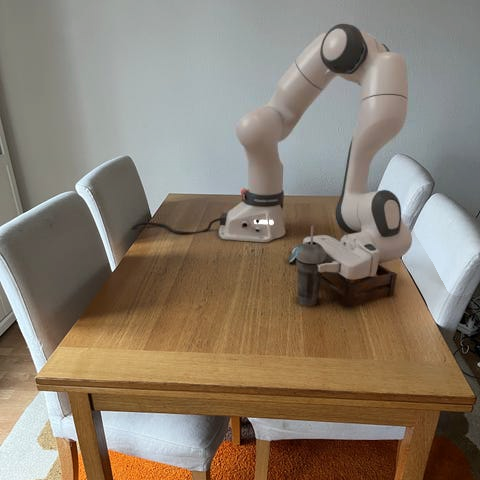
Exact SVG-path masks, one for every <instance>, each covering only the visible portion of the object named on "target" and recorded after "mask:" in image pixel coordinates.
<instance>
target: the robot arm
mask: <svg viewBox="0 0 480 480" xmlns="http://www.w3.org/2000/svg"><path fill="white" fill-rule="evenodd" d="M338 76H339V77H340V78H341V79H344V80H345V81H348V82H352V83H354V84H357V85H359V86H360V88H361V93H360V94H361V95H360V107H359V114H358V118H357V119H358V120H357V123H356V128H355V130H354V133H353V136H352V138H351V141H350V144H349V148H348V152H347V153H348V154H347V158H346V163H345V171H344V176H343V182H342V188H341V189H342V190H341V193H340V196H339V199H338V202H337V205H336V207H335V212H334V213H335V220H336V224H337V225H338V227H339V228H340V229H341V230H342V232H344V233H346V234H344V235H343V236H342V237H341V238H340V240H338V239H336V238H334V237H332V236H331V235H327V234H321V235H313V242H317V243H319V244H320V245H321V246H322V247H323V248H324V250H325V253H326V262H325V263H323V262H321V263H317V265H316V270H317V271H319V272H325V271H326V272H337V273H339V274H340V275H342V276H343V277H345V278H346V280H351V281H355V280H360V278H365V277H367V276H369V277H371V276H377V275H376V271H377V267H378V264H379V265H381V264H385V263H388V262H392V261H394V260H397V259H400V258H401V257H403V256H405V255H406V254H407V253H408V252H409V250H410V249H411V247H412V243H413V236H412V232H411V230H410V229H409V227H407V226H406V224H405V223H404V220H403V218H402V207H401V203H400V200H399V198H398V196H397V195H396V194H395V193H394V192H392V191H391V190H388V189H382V190H375V191H371V192H366V191H367V185H368V178H369V173H370V168H371V164H372V161H373V160H374V158H375V156H376V155H377V153H379V152H380V150H381V149H383V147H385V146H386V144H388V143H389V142H391V141H392V140H393V139H394V138H396V137H397V136H398V135H399V133H400V132H401V131H402V129H403V128H404V125H405V122H406V118H407V113H408V99H409V98H408V97H409V78H408V68H407V62H406V60H405V58H404V57H403V56H402V55H401V54H400V53H398V52H396V51H395V52H394V51H391V50H390V49H389V48H388V46H387V45H386V44H384V43H381V41H380V40H379V39H378V38H376V37H375V36H374V35H372V34H371V33H367V32H365V31H363V30H361V29H359V28H358V27H357V26H356V25H355V26H354V24H353V25H352V24H349V23H338V24H336V25H334V26H333V27H331V28H330V29H329V30H328V31H327V32H323V33H320V34H319V35H318V36H317V37H316V38H315V39H313V40H312V42H310V43H309V44H308V45H307V46H306V47H304V49H303V50H302V51H301V53H300V54H299V55H298V56H297V58H296V59H295V60H294V61H293V62H292V64H291V65H290V66H289V68H287V70H286V71H285V73H283V75H282V76H281V78H280V79H279V80H278V82H277V84H276V88H275V91H274V92H273V94H272V95H271V97H270V99H269V100H268V102H267V103H266V104H265V105H263V106H261V107H259V108H255V109H252V110H250V111H249V110H248V111H247V113H245V114H244V115H243V116H242V117H240V119H239V120H238V122H237V125H236V129H235V130H236V131H235V132H236V138H237V140H238V142H239V143H240V145H241V146H242V147H243V149H244V154H245V157H246V162H247V173H248V175H247V176H248V177H247V178H248V179H247V180H248V181H247V182H248V183H247V184H248V185H247V186H248V187H247V188H248V189H247V188H245V187H243V188H242V189H240V195H241V201H240V203H238V204H237V205H235V206H234V207H233V208H231V209H230V210H229V211H228V212H222V213H221V215H220V216H219V217H218V218H215V219H213V220H211V221H210V222H209V224H208V226H207V227H206V228H205V229H202V230H199V231H182V230H175V229H173V228H171V227H170V226H169V225H167V224H165V223H160V222H152V221H151V222H150V221H142V222H138V223H136V224H134V225H133V226H132V227H131V228H130V230H134V229H136V228H137V227H139V226H144V225H145V226H146V225H148V226H149V225H151V226H161V227H164V228H166V229H167V230H168V231H170V232H172V233H174V234H180V235H194V234H195V235H196V234H199V233H205V232H207V231H209V230H210V229H211V227H212V225H213V224H214V223H216V222H219V225H220V226H219V228H218V236H219V237H220V239H223V240H226V241H227V240H228V241H239V242H240V241H241V242H252V243H253V242H254V243H270V242H271V241H273V240H276V239H280V238H282V237H284V236H285V235H286V233H287V231H286V226H285V222H284V213H283V212H284V211H283V210H284V209H283V208H284V205H285V192H284V187H283V186H284V164H283V162H282V161H281V159H280V154H279V148H278V144H279V143H280V142H282V141H284V140H285V139H287V138H288V137H289V136H290V134H291V133H292V132H293V130H294V129H295V127H296V126H297V124H298V123H299V122H300V120H301V118H302V117H303V115H305V113H306V111H307V110H308V109H309V108H310V107H311V105H313V103H314V102H315V101H316V99H317V98H318V97H319V96H320V95H321V94H322V93H323V92H324V90H326V88H327V87H328V86H329V85H330V83H331V82H332V81H333V80H334V79H335V78H336V77H338ZM306 242H311V236H306V237H305V238H303V239H302V245H303V244H304V243H306ZM297 252H298V251H297ZM297 252H296V256H297Z"/></svg>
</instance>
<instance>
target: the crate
mask: <svg viewBox="0 0 480 480" xmlns="http://www.w3.org/2000/svg"><path fill="white" fill-rule="evenodd" d="M397 277H398V273H396V272H394V271H392V270H389V269H388V268H387V267H384V266H382V265H381V264H378V267H377V271H376V275H375V276H371V277H369V276H367V277H365V278H360V279H361V280H360V279H359V280H357V281H349V280H348V279H346V278H345V277H343V276H342V275H340V274H339V273H337V272H326V271H325V272H322V278H321V283H320V289H321V290H322V291H324V292H325V293H327V294H328V295H330V296H331V297H333V299H336V301H338V302H339V303H341V304H342V305H343V307H345V308H347V309H349V308H352V307H354V306H357V305H362V304H364V303H369V302H372V301H375V300H379V299H383V298H387V297H392V296H394V295H395V294H394V293H395V289H396V284H397ZM370 289H371V290H370ZM366 290H367V291H366ZM362 291H363V292H362Z"/></svg>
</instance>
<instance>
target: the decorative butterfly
mask: <svg viewBox="0 0 480 480" xmlns="http://www.w3.org/2000/svg"><path fill="white" fill-rule="evenodd" d="M302 245H303V244H299V245H297V246H296V247H295V248H293V249H292V251H291V256H290V258H289V260H288V263H289V264H290V263H292V262H293V261H294V260H295V259H296V252H297V251H298V249H299V248H300V247H301V246H302Z"/></svg>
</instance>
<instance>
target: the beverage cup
mask: <svg viewBox="0 0 480 480" xmlns="http://www.w3.org/2000/svg"><path fill="white" fill-rule="evenodd" d="M313 236H314V225H311V226H310V237H311V242H306V243H304V244H303V243H302V244H301V245H302V246H301V247H300V248H299V249H298V252H297V256H296V257H295V263H296V271H297V272H296V273H297V296H298V297H297V298H298V303H299V304H300V305H301V306H305V307H313V306H315V305H316V304H317V302H318V298H319V294H320V289H321V288H320V283H321V278H322V272H319V271H317V270H316V265H317V263H321V262H323V263H325V262H326V253H325V250H324V248H323V247H322V246H321V245H320V244H319V243H317V242H313Z"/></svg>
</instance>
